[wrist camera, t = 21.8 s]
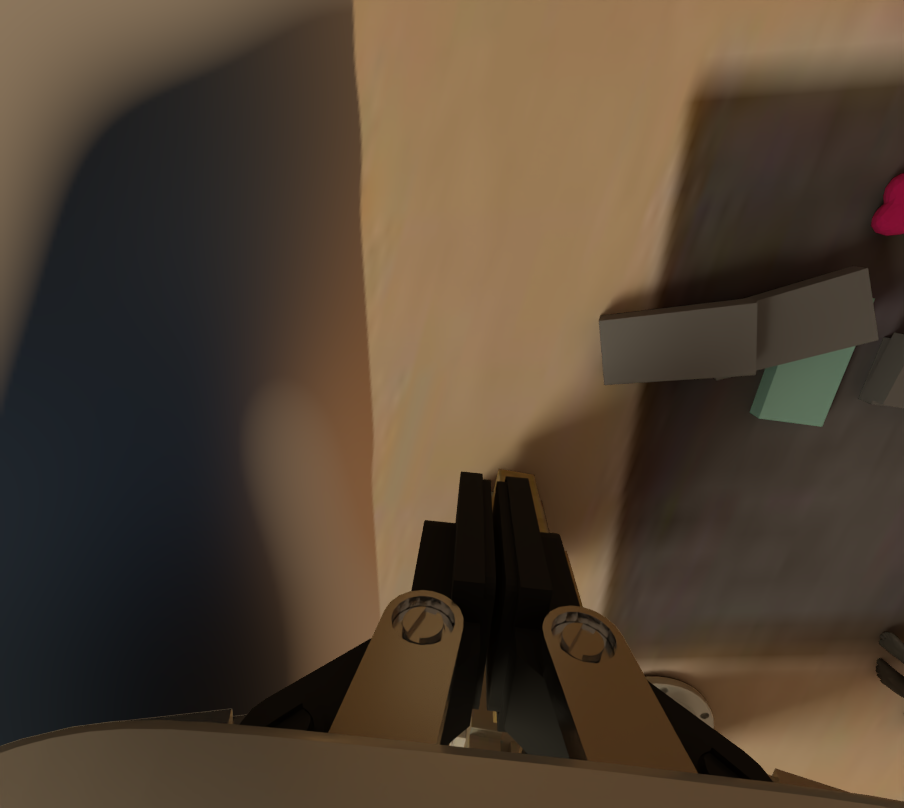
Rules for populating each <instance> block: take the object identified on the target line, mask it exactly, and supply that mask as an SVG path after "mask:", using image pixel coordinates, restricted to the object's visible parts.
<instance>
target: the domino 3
mask: <svg viewBox="0 0 904 808" xmlns="http://www.w3.org/2000/svg"><path fill="white" fill-rule="evenodd" d="M874 300H875V298H873V303H874ZM854 348H855V346H853V347H849V348H845V349H841V350H837V351H833V352H829V353H825V354H821V355H817V356H813V357H809V358H805V359H801V360H797V361H793V362H789V363H785V364H781V365H777V366H773V367H769V368H765V371H764V373H763V376H762V379H761V382H760V385H759V387H758V390H757V393H756V396H755V399H754V401H753V404H752V407H751V410H750V413H751V414H753V415H754V416H756V417H757V418H760V419H768V420H775V421H783V422H790V423H798V424H805V425H813V426H821V427H822V426H823V423H824V421H825V418H826V416H827V414H828V411H829V409H830V406H831V404H832V401H833V399H834V397H835V394H836V392H837V389H838V387H839V385H840V382H841V380H842V377H843V375H844V373H845V370H846V368H847V365H848V363H849V360H850V358H851V356H852V353H853V351H854Z"/></svg>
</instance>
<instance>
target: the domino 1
mask: <svg viewBox="0 0 904 808" xmlns="http://www.w3.org/2000/svg"><path fill="white" fill-rule="evenodd" d="M599 328H600V340H601V352H602V364H603V376H604V385H613V384H628V383H643V382H658V381H674V380H689V379H704V378H719V377H734V376H749V375H756V344H757V302H756V301H754V300H753V299H752V298H745V299H736V300H728V301H720V302H711V303H703V304H694V305H686V306H677V307H669V308H661V309H652V310H644V311H635V312H627V313H618V314H610V315H602V316H600V319H599Z"/></svg>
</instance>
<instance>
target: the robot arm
mask: <svg viewBox="0 0 904 808" xmlns="http://www.w3.org/2000/svg"><path fill="white" fill-rule="evenodd" d="M485 664H486V704H487V711H496V714H497V731H499V732H507V733H508V734H509V735H510V736H511V737H512V738H513V739H514V740H515V741H516V742H517V743H518V744H519V745H520V747H519V753H512V752H503V751H493V750H484V749H475V748H466V747H457V746H449V743H451V742H452V741H453V740H454V739H455V738H456V737H458V736H459V735H460V734H461V733H462V732H463V731H465V730H466V729H467V728H468V727H469V726H470V722H471V714H472V709H478V710H479V705H480V698H481V692H482V685H483V678H484V671H485ZM0 808H904V801H898V800H892V799H887V798H881V797H876V796H870V795H863V794H855V793H850V792H847V791H844V790H841V789H837V788H834V787H831V786H828V785H825V784H822V783H819V782H816V781H813V780H810V779H807V778H803V777H800V776H797V775H794V774H791V773H788V772H785V771H782V770H779V769H776V768H775V770H774V772H773V774H772V776H771V775H768V774H767V773H766V772H765V771H764V770H763V769H762V767H761V766H760V765H759V764H758V763H757V762H756V761H754V760H753V759H752V758H751V757H750V756H749V755H748V754H746V753H745V752H744V751H743V750H741V749H740V748H739V747H737V746H736V745H735V744H733V743H732V742H731V741H729V740H728V739H726V738H725V737H724V736H722V735H721V734H720V733H718V732H717V731H716V730H714V718H713V715H712V712H711V709H710V707H709V706H708V704H707V702H706V700H705V698H704V697H703V696H702V695H701V694H700V692H698V691H697V690H696V689H694V688H693V687H692V686H690V685H688V684H686V683H684V682H682V681H678V680H675V679H672V678H666V677H659V676H647V677H645V676H644V674H643V672H642V670H641V668H640V666H639V665H638V663H637V661H636V659H635V657H634V656H633V654H632V652H631V650H630V648H629V646H628V645H627V643H626V641H625V639H624V637H623V635H622V634H621V633H620V631H619V630H618V629H617V627H616V626H615V625H614V624H613V623H612V622H611V621H609V620H608V619H607V618H606V617H604V616H602V615H601V614H599V613H597V612H595V611H593V610H590V609H587V608H584V607H580V604H579V601H578V597H577V593H576V590H575V586H574V583H573V579H572V576H571V572H570V569H569V565H568V562H567V558H566V555H565V551H564V547H563V544H562V540H561V538H560V535H559V534H555V533H546V532H540V529H539V525H538V520H537V516H536V511H535V506H534V502H533V497H532V493H531V488H530V483H529V479H528V478H520V477H510V476H506V477H505V482H503V481H497V483H496V489H495V497H494V505H493V512H492V496H491V481H490V480H483V475H482V474H480V473H470V472H461V475H460V484H459V494H458V504H457V514H456V523H447V522H437V521H428V520H425V521H424V526H423V531H422V537H421V542H420V548H419V553H418V558H417V564H416V569H415V575H414V580H413V585H412V591H410V592H407V593H404V594H402V595H399V596H398V597H396V598H395V599H394V600H392V601H391V602H390V603H389V605H388V606H387V607H386V609H385V610H384V613H383V615H382V617H381V619H380V621H379V623H378V626H377V628H376V630H375V632H374V634H373V636H372V638H371V639H369V640H367V641H366V642H364V643H362V644H360V645H359V646H357V647H355V648H354V649H352V650H350V651H348V652H347V653H345V654H343V655H341V656H339V657H338V658H336V659H335V660H333V661H331V662H329V663H327V664H326V665H324V666H322V667H320V668H319V669H317V670H315V671H313V672H312V673H310V674H308V675H306V676H305V677H303V678H301V679H299V680H298V681H296V682H295V683H293V684H291V685H289V686H287V687H286V688H284V689H282V690H280V691H279V692H277V693H275V694H273V695H272V696H270V697H268V698H266V699H265V700H264V701H262V702H261V703H259V704H258V705H257V706H255V707H254V708H253V709H252V710H251V711H250V712H249V713H248V714H247V715H240V716H232V709H224V710H216V711H207V712H198V713H190V714H180V715H171V716H162V717H153V718H144V719H136V720H127V721H113V722H106V723H98V724H91V725H83V726H76V727H69V728H65V729H61V730H57V731H53V732H49V733H45V734H40V735H36V736H32V737H28V738H24V739H20V740H17V741H14V742H11V743H8V744H5V745H2V746H0Z"/></svg>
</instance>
